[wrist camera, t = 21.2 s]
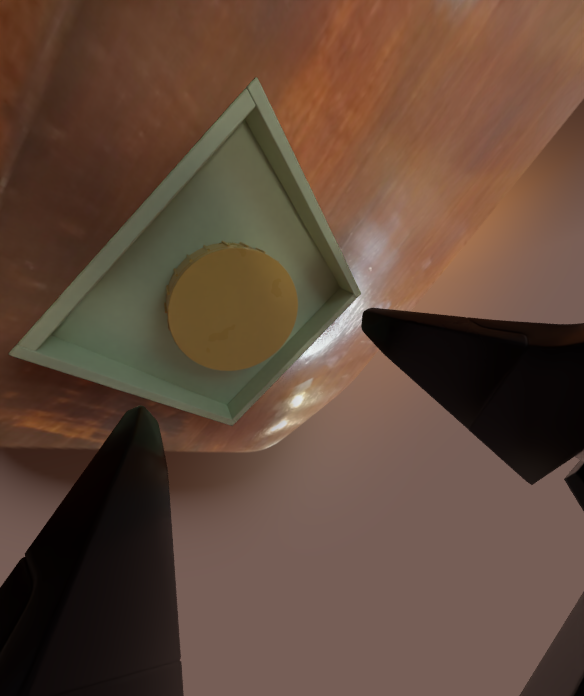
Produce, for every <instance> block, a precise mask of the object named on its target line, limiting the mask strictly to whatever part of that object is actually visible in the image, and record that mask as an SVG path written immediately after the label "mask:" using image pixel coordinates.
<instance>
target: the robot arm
mask: <svg viewBox="0 0 584 696" xmlns="http://www.w3.org/2000/svg"><path fill="white" fill-rule="evenodd" d="M361 327H362V330H363V332H364V333H365V334H366V335H367V336H368V337H369V339H370V340H371V341H372V342H373V343H374V344H375V345H376V346H377V347H378V348H379V349H380V350H381V352H382V353H383V354H385V356H387V357H388V358H389V359H390V360H391V361H392V362H393V363H394V364H396V365H397V366H398V367H399V368H400V369H401V370H402V371H404V372H405V373H406V374H407V375H408V376H409V377H410V378H411V379H412V380H413V381H415V382H416V383H417V384H418V385H419V386H420V387H421V388H422V389H424V390H425V391H426V392H427V393H428V394H429V395H430V396H431V397H433V398H434V399H435V400H436V401H437V402H438V403H439V404H441V405H442V406H443V407H444V408H445V409H446V410H447V411H448V412H450V414H452V415H453V416H454V417H455V418H456V419H457V420H458V421H459V422H461V423H462V424H463V425H464V426H465V427H466V428H467V429H469V431H470V432H472V433H473V434H474V435H475V436H476V437H477V438H478V439H479V440H481V441H482V442H483V443H484V444H485V445H486V446H487V447H489V448H490V449H491V450H492V451H493V452H494V453H495V454H496V455H497V456H498V457H500V458H501V459H502V460H503V461H504V462H505V463H506V464H508V465H509V466H510V467H511V468H512V469H513V470H514V471H515V472H517V473H518V474H519V475H520V476H521V477H522V478H523V479H525V480H526V481H527V482H528V483H530V484H531V485H533V484H534V483H536V482H537V481H539V480H540V479H542V478H543V477H544V476H546V475H547V474H549V473H550V472H552V471H553V470H555V469H556V468H558V467H559V466H561V465H562V464H564V463H565V462H567V461H568V460H570V459H571V458H573V457H576V458H578V459H579V460H580V461H579V462H578V463H577V465H576V466H575V467H574V468H573V469H572V470H571V472H570V473H569V474H568V475H567V476H566V478H565V479H564V480H565V481H566V483H567V485H568V486H569V488H570V490H571V491H572V493H573V495H574V496H575V498H576V500H577V501H578V503H579V504H580V506H581V507H582V509H583V511H584V323H581V324H546V323H529V322H514V321H500V320H489V319H478V318H466V317H458V316H448V315H439V314H438V315H437V314H429V313H419V312H409V311H399V310H390V309H380V308H370V309H367V310H365V311H364V312H363V315H362V326H361ZM180 658H181V654H180V640H179V625H178V611H177V597H176V581H175V567H174V553H173V539H172V524H171V509H170V495H169V480H168V469H167V463H166V458H165V453H164V448H163V443H162V438H161V433H160V429H159V425H158V422H157V420H156V419H155V418H154V417H153V416H152V415H151V413H150V412H149V411H148V410H147V409H146V408H145V407H144V406H138V407H135V408H133V409H131V410H128V411H127V412H126V413H125V414H124V416H123V417H122V418H121V420H120V421H119V423H118V424H117V425H116V427H115V428H114V430H113V431H112V432H111V434H110V435H109V437H108V438H107V439H106V441H105V442H104V444H103V445H102V446H101V448H100V449H99V451H98V452H97V454H96V455H95V456H94V458H93V459H92V461H91V462H90V463H89V465H88V466H87V468H86V469H85V470H84V472H83V473H82V474H81V476H80V477H79V479H78V480H77V482H76V483H75V484H74V486H73V487H72V488H71V490H70V491H69V493H68V494H67V495H66V497H65V498H64V500H63V501H62V503H61V504H60V505H59V507H58V508H57V509H56V511H55V512H54V514H53V515H52V516H51V518H50V519H49V521H48V522H47V523H46V525H45V526H44V528H43V529H42V530H41V532H40V533H39V535H38V536H37V537H36V539H35V540H34V542H33V543H32V544H31V546H30V547H29V548H28V550H27V551H26V553H25V557H23V558H22V559H21V560H20V561H19V562H18V564H17V565H16V567H15V568H14V569H13V571H12V572H11V574H10V575H9V576H8V578H7V579H6V581H5V582H4V583H3V585H2V586H1V587H0V696H184V695H183V680H182V666H181V661H180ZM520 696H584V592H583V594H582V595H581V597H580V599H579V600H578V602H577V604H576V605H575V607H574V608H573V610H572V611H571V613H570V615H569V616H568V618H567V620H566V621H565V623H564V624H563V626H562V628H561V629H560V631H559V633H558V634H557V636H556V637H555V639H554V641H553V642H552V644H551V646H550V647H549V649H548V650H547V652H546V654H545V655H544V657H543V658H542V660H541V662H540V663H539V665H538V666H537V668H536V670H535V671H534V673H533V675H532V676H531V678H530V679H529V681H528V683H527V684H526V686H525V688H524V689H523V691H522V692H521V694H520Z"/></svg>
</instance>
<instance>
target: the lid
mask: <svg viewBox="0 0 584 696" xmlns="http://www.w3.org/2000/svg"><path fill="white" fill-rule="evenodd" d="M221 242H222V243H217V244H212V245H209V246H206V245H203V248H201V249H199V250H197V251H195V252H194V253H192V254H191V255H188V254H187V255H186V256H187V258H186V259H185V260H184V261H182V262H181V264H180V265H179V266H178V267H177V269H175V268H174V269H173V270H174V274H173V275H172V277H171V279H170V282H169V285H166V291H167V294H166V303H164V308H165V313H167V316H168V319H167V322H168V329H169V331H170V332H171V334H172V337H173V339H174V341H175V342H176V344H177V345H178V347H179V348H180V349H181V351H182V352H183V353H184V354H185V355H186V356H188V357H189V358H190V359H191V360H193V361H195V362H196V363H198V364H200V365H202V366H205V367H207V368H211V369H215V370H221V371H235V370H242V369H246V368H250V367H252V366H255V365H257V364H259V363H261V362H263V361H265V360H266V359H268V358H269V357H271V356H272V355H273V354H275V353H276V352H277V351H278V350H279V349H280V348H281V347H282V345H283V344H284V343H285V342H286V340H287V339H288V337H289V335H290V334H291V332H292V330H293V327H294V325H295V321H296V317H297V312H298V298H297V292H296V289H295V286H294V283H293V281H292V279H291V277H290V275H289V274H288V272H287V271H286V270H285V268H284V267H283V266H282V265H281V264H280V263H279V262H278V261H277V260H275V259H274V258H272V257H270V256H269V255H267V254H265V253H266V252H265V251H263V250H260V249H258V248H256V249H254V248H252V247H250V246H249V245H246V244H244V243H242V242H240V243H226V242H225V241H221Z"/></svg>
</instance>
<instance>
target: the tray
mask: <svg viewBox="0 0 584 696" xmlns="http://www.w3.org/2000/svg"><path fill="white" fill-rule="evenodd" d="M221 241H225V242H226V243H240V242H242V243H244V244H246V245H249V246H250V247H252V248H254V249H256V248H258V249H260V250H263V251H265V252H266V253H265V254H267V255H269V256H270V257H272V258H274V259H275V260H277V261H278V262H279V263H280V264H281V265H282V266H283V267H284V268H285V270H286V271H287V272H288V274H289V275H290V277H291V279H292V281H293V283H294V286H295V289H296V292H297V298H298V312H297V317H296V321H295V325H294V327H293V330H292V332H291V334H290V335H289V337H288V339H287V340H286V342H285V343H284V344H283V345H282V347H281V348H280V349H279V350H278V351H277V352H276V353H275V354H273V355H272V356H271V357H269V358H268V359H266V360H265V361H263V362H261V363H259V364H257V365H255V366H252V367H250V368H246V369H242V370H235V371H221V370H215V369H211V368H207V367H205V366H202V365H200V364H198V363H196V362H195V361H193V360H191V359H190V358H189V357H188V356H186V355H185V354H184V353H183V352H182V351H181V349H180V348H179V347H178V345H177V344H176V342H175V341H174V339H173V337H172V334H171V332H170V331H169V329H168V322H167V319H168V316H167V313H165V308H164V303H166V294H167V291H166V285H169V282H170V279H171V277H172V275H173V274H174V270H173V269H174V268H175V269H177V267H178V266H179V265H180V264H181V262H182V261H184V260H185V259H186V258H187V256H186V255H187V254H188V255H191V254H192V253H194V252H195V251H197V250H199V249H201V248H203V245H206V246H209V245H212V244H217V243H222V242H221ZM360 294H361V292H360V290H359V288H358V286H357V284H356V282H355V280H354V278H353V276H352V273H351V271H350V269H349V267H348V265H347V263H346V261H345V259H344V257H343V255H342V253H341V251H340V248H339V246H338V244H337V242H336V240H335V238H334V236H333V234H332V232H331V230H330V228H329V226H328V224H327V221H326V219H325V217H324V215H323V213H322V211H321V209H320V207H319V205H318V203H317V201H316V199H315V197H314V194H313V192H312V190H311V188H310V186H309V184H308V182H307V180H306V178H305V176H304V174H303V172H302V170H301V167H300V165H299V163H298V161H297V159H296V157H295V155H294V153H293V151H292V149H291V147H290V145H289V142H288V140H287V138H286V136H285V134H284V132H283V130H282V128H281V126H280V124H279V122H278V120H277V118H276V115H275V113H274V111H273V109H272V107H271V105H270V103H269V101H268V99H267V97H266V95H265V93H264V91H263V88H262V86H261V84H260V82H259V80H258V78H257V77H255V78H254V79H253V80H252V81H251V83H250V84H249V85H248V86H247V87H246V88H245V89H244V90H243V92H242V93H241V94H240V95H239V96H238V97H237V98H236V99H235V100H234V102H233V103H232V104H231V105H230V106H229V107H228V108H227V109H226V111H225V112H224V113H223V114H222V115H221V116H220V117H219V118H218V120H217V121H216V122H215V123H214V124H213V125H212V126H211V127H210V128H209V130H208V131H207V132H206V133H205V134H204V135H203V136H202V137H201V139H200V140H199V141H198V142H197V143H196V144H195V145H194V146H193V147H192V149H191V150H190V151H189V152H188V153H187V154H186V155H185V156H184V158H183V159H182V160H181V161H180V162H179V163H178V164H177V165H176V167H175V168H174V169H173V170H172V171H171V172H170V173H169V174H168V175H167V177H166V178H165V179H164V180H163V181H162V182H161V183H160V184H159V186H158V187H157V188H156V189H155V190H154V191H153V192H152V193H151V194H150V196H149V197H148V198H147V199H146V200H145V201H144V202H143V203H142V205H141V206H140V207H139V208H138V209H137V210H136V211H135V212H134V214H133V215H132V216H131V217H130V218H129V219H128V220H127V221H126V222H125V224H124V225H123V226H122V227H121V228H120V229H119V230H118V231H117V233H116V234H115V235H114V236H113V237H112V238H111V239H110V240H109V242H108V243H107V244H106V245H105V246H104V247H103V248H102V249H101V250H100V252H99V253H98V254H97V255H96V256H95V257H94V258H93V259H92V261H91V262H90V263H89V264H88V265H87V266H86V267H85V268H84V269H83V271H82V272H81V273H80V274H79V275H78V276H77V277H76V278H75V280H74V281H73V282H72V283H71V284H70V285H69V286H68V287H67V289H66V290H65V291H64V292H63V293H62V294H61V295H60V296H59V297H58V299H57V300H56V301H55V302H54V303H53V304H52V305H51V306H50V308H49V309H48V310H47V311H46V312H45V313H44V314H43V315H42V317H41V318H40V319H39V320H38V321H37V322H36V323H35V324H34V325H33V327H32V328H31V329H30V330H29V331H28V332H27V333H26V334H25V336H24V337H23V338H22V339H21V340H20V341H19V342H18V344H17V345H16V346H15V347H14V348H13V349H12V350H11V351H10V352H9V355H10V356H13V357H16V358H19V359H23V360H26V361H29V362H32V363H35V364H38V365H41V366H45V367H48V368H51V369H54V370H57V371H60V372H64V373H67V374H70V375H73V376H76V377H79V378H82V379H86V380H89V381H92V382H95V383H98V384H101V385H105V386H108V387H111V388H114V389H117V390H120V391H123V392H127V393H130V394H133V395H136V396H139V397H142V398H146V399H149V400H152V401H155V402H158V403H161V404H164V405H168V406H171V407H174V408H177V409H180V410H183V411H187V412H190V413H193V414H196V415H199V416H202V417H205V418H209V419H212V420H215V421H218V422H221V423H224V424H228V425H231V426H233V425H234V424H235V423H236V421H238V420H239V419H240V418H241V417H242V416H243V414H244V413H245V412H246V411H247V410H248V409H249V408H250V407H251V406H252V405H253V404H254V403H255V402H256V401H257V400H258V399H259V398H260V397H261V396H262V395H263V394H264V393H265V392H266V391H267V390H268V389H269V388H270V387H271V386H272V385H273V384H274V383H275V382H276V381H277V380H278V379H279V377H280V376H281V375H282V374H283V373H284V372H285V371H286V370H287V369H288V368H289V367H290V366H291V365H292V364H293V363H294V362H295V361H296V360H297V359H298V358H299V357H300V356H301V355H302V354H303V353H304V352H305V351H306V350H307V349H308V348H309V347H310V346H311V345H312V344H313V343H314V342H315V341H316V339H317V338H318V337H319V336H320V335H321V334H322V333H323V332H324V331H325V330H326V329H327V328H328V327H329V326H330V325H331V324H332V323H333V322H334V321H335V320H336V319H337V318H338V317H339V316H340V315H341V314H342V313H343V312H344V311H345V310H346V309H347V308H348V307H349V306H350V305H351V304H352V303H353V301H354V300H355V299H356V298H357V297H358V296H359V295H360Z"/></svg>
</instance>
